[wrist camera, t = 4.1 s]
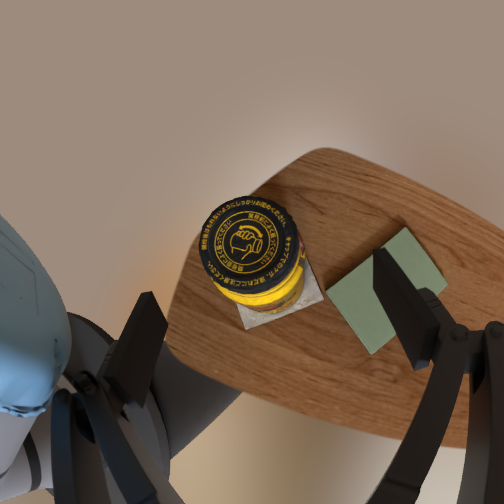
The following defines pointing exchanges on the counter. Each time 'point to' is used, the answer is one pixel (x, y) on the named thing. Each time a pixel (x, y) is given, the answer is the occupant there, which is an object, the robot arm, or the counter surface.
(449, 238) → the counter surface
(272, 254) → the condiment
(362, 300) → the trivet mat
